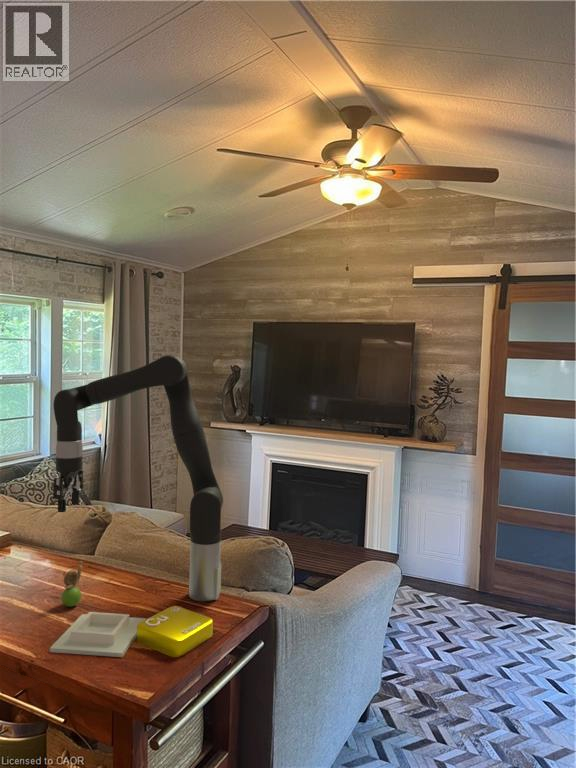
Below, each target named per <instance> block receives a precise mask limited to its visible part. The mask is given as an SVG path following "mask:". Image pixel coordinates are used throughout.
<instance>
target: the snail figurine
mask: <svg viewBox="0 0 576 768" xmlns="http://www.w3.org/2000/svg"><path fill="white" fill-rule="evenodd" d="M78 562H79V564H78V566H77V571H76V570H74V569H73V570H72V569H71V570H69V571H67V572H66V573H65V575H64V577H63V583H64V585H65V586H64V590H63V591H62V593H61V596H60V600H61V603H62V604H63V605H64V606H65V607H68V608H69V607H75V606H77V605H78V604H79V603H80V601H81V600H82V591H81V590H80V589H79V588H78V587H76V586H77V585H78V584H79V582H80V579H81V576H82V569H83V565H82V564H83V563H84V562H83V561H82V560H79V561H78Z"/></svg>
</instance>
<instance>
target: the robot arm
mask: <svg viewBox="0 0 576 768" xmlns="http://www.w3.org/2000/svg"><path fill="white" fill-rule="evenodd" d="M187 367H188V366H187V364H186V362H185V360H183V359H182V358H181V357H180V356H177V355H173V354H165V355H162V356H160V358H158V359H156V360H153V361H152V362H150V363H148V364H145V365H143V366H141V367H138V368H136V369H133V370H129V371H126V372H121V373H117V374H114V375H111V376H106V377H104V378H103V377H102V378H100V379H97V380H93V381H91V382H89V383H86V384H84V385H80V386H76V387H73V388H66V389H62V390H60V391H58V392H56V394H55V396H54V398H53V412H54V419H55V422H56V444H55V445H56V446H55V471H56V472H58V473H59V474H60V475H59V478H58V477H56V478H55V477H54V479H53V493H52V494H53V495H52V496H53V497H52V498H53V499H54V500H57V512H58V513H65V512H67V497H68V494H69V493H70V492H71V505H72V506H78V505H79V504H80V493H81V492H82V490H83V489H84V470H83V457H84V456H83V453H84V450H83V440H82V439H83V434H82V433H83V427H82V422H80V421H79V417H78V416H79V415H78V414H79V413H78V411H80V410H83V409H86V408H89V407H91V406H94V405H99V404H104V403H107V402H110V401H113V400H116V399H120V398H122V397H125V396H128V395H129V394H132V393H135V392H139V391H140V390H144V389H149V388H154V387H160V386H161V387H162V386H163V388H164V390H165V393H166V396H167V400H168V403H169V416H170V425H171V426H170V427H171V432H172V436H173V437H172V438H173V440H174V443H175V447H176V450H177V453H178V454H179V457H180V459H181V461H182V463H183V465H184V466H185V468H186V470H187V472H188V475H189V478H190V482H191V486H192V492H193V496H192V498H191V501H190V506H189V534H190V550H189V551H190V552H189V553H190V554H189V579H188V580H189V581H188V585H189V586H188V597H189V598H190V599H191V600H193V601H196V602H197V601H198V602H209V601H217V600H218V599H219V597H220V594H221V590H222V589H221V586H222V561H221V549H222V548H221V546H222V545H221V544H222V530H221V524H222V523H221V517H222V516H221V513H222V507H223V503H224V497H223V494H222V491H221V489H220V486H219V484H218V482H217V479H216V476H215V473H214V471H213V467H212V461H211V457H210V452H209V447H208V441H207V439H206V434H205V432H204V428H203V425H202V422H201V418H200V415H199V412H198V409H197V406H196V404H195V400H194V399H193V395H192V391H191V385H190V381H189V380H190V379H189V372H188V368H187Z"/></svg>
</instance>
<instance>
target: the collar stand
mask: <svg viewBox="0 0 576 768" xmlns="http://www.w3.org/2000/svg"><path fill="white" fill-rule="evenodd" d="M146 619H147V618H145V617H134V616H133V617H130V614H127V613H111V612H99V611H89V612H88V613H87V614H86V613H85V614H84V613H82V614H81V615H79V617H78V618H76V620H75V621H74V622H73V623H72V624H71V625H70V627H68V629H66V630H65V632H64V633H63V634H62V635H61V636H59V638H57V640H56V641H55V642H54V643H53V644H52V645H51V646H50V648H49V653H58V654H74V655H84V656H85V655H88V656H101V657H112V658H114V657H116V658H123V657H124V656H125V654H126V652H127V651H128V649H129V648H130V646H131V645H132V644H133V642H134V641H135V640H136V639H137V625H138V624H139V623H140V622H142V621H144V620H146Z"/></svg>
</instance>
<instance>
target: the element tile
mask: <svg viewBox="0 0 576 768" xmlns="http://www.w3.org/2000/svg"><path fill="white" fill-rule="evenodd" d="M213 634H214V620H213V618H211V617H209V616H206V615H204V614H201V613H199V612H195V611H192V610H189V609H187V608H184V607H182V606H178V605H172V606H170V607H168V608H166V609H164V610H162V611H160V612H158V613H156V614H154V615H152V616H150V617H148V618H146V620H144V621H142V622H140V623H139V624H138V625H137V636H136V642H137V643H138V644H139V645H142V646H144V647H148V648H150V649H152V650H155V651H156V652H160V653H161V654H163V655H166V656H168V657H171V658H180V657H181V656H184V655H185V654H187V653H189V652H190V651H193V649H194V648H197V647H198V646H199V645H201V644H202V643H204V642H206V641H208V640H209V639H210V638H212V637H213Z"/></svg>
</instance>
